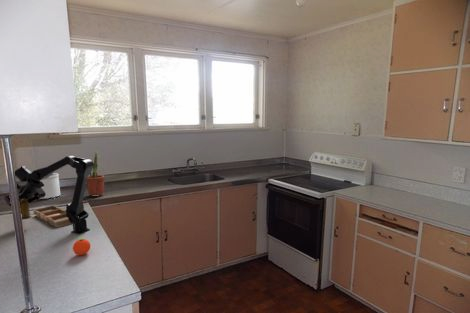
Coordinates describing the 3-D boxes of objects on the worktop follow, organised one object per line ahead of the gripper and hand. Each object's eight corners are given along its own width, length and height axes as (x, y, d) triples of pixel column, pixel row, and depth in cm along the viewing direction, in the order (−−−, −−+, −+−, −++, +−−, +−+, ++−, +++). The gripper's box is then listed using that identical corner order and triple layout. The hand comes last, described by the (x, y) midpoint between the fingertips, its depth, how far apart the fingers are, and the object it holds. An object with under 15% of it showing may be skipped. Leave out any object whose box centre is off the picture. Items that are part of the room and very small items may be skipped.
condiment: (21, 215, 164) (18, 195, 162) (36, 215, 165) (34, 194, 163) (12, 220, 157) (9, 198, 155) (29, 219, 158) (26, 197, 156)
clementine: (70, 254, 130) (68, 238, 129) (86, 248, 135) (84, 234, 134) (77, 259, 125) (75, 244, 124) (93, 253, 130) (92, 238, 129)
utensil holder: (36, 201, 215) (33, 178, 212) (40, 196, 228) (37, 174, 226) (59, 198, 221) (57, 175, 218) (62, 194, 234) (59, 172, 232)
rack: (78, 221, 171) (78, 216, 170) (55, 227, 162) (55, 222, 161) (54, 209, 194) (54, 205, 194) (33, 214, 185) (33, 209, 185)
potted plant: (104, 192, 236) (100, 149, 231) (107, 196, 223) (104, 151, 218) (80, 196, 227) (75, 151, 222) (82, 200, 214) (77, 153, 209)
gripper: (39, 172, 165) (29, 190, 171) (3, 180, 148) (-7, 199, 153) (51, 187, 163) (40, 204, 169) (15, 196, 146) (4, 215, 152)
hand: (20, 205), depth 161 cm, fingers closed on condiment, 6 cm apart
